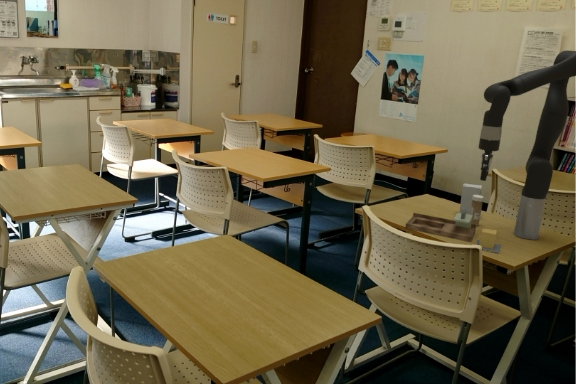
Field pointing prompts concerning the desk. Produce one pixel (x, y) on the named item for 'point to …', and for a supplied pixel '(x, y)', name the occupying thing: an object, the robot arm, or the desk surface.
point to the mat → (495, 249)
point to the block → (488, 238)
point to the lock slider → (463, 219)
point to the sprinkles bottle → (476, 209)
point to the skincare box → (469, 196)
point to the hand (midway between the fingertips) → (483, 178)
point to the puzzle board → (440, 227)
